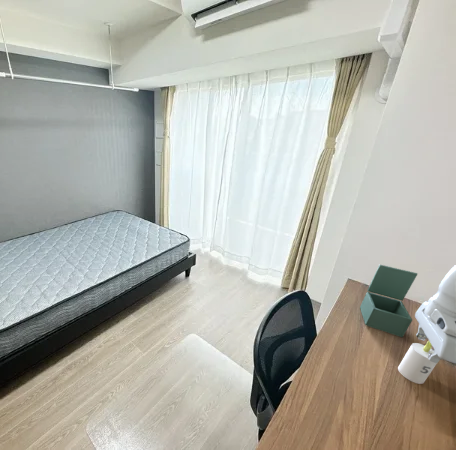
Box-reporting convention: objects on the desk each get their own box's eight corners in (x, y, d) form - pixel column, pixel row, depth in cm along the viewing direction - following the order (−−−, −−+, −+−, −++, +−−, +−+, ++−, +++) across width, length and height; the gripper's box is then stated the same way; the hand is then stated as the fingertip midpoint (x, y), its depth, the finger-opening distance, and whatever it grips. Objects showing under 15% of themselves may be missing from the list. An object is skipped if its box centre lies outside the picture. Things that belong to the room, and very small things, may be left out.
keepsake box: (402, 337, 94) (412, 320, 91) (365, 325, 100) (373, 308, 96) (393, 317, 105) (401, 301, 101) (359, 307, 110) (367, 291, 106)
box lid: (417, 274, 95) (413, 268, 99) (380, 265, 100) (377, 260, 104) (402, 300, 101) (399, 294, 104) (367, 291, 106) (365, 285, 110)
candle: (404, 380, 78) (426, 345, 72) (394, 363, 84) (413, 330, 78) (429, 387, 76) (453, 352, 70) (417, 369, 82) (438, 336, 76)
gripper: (420, 291, 80) (401, 323, 85) (449, 332, 64) (424, 369, 69) (446, 298, 77) (426, 331, 83) (485, 343, 61) (456, 380, 66)
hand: (425, 348), depth 76 cm, fingers open, 8 cm apart
